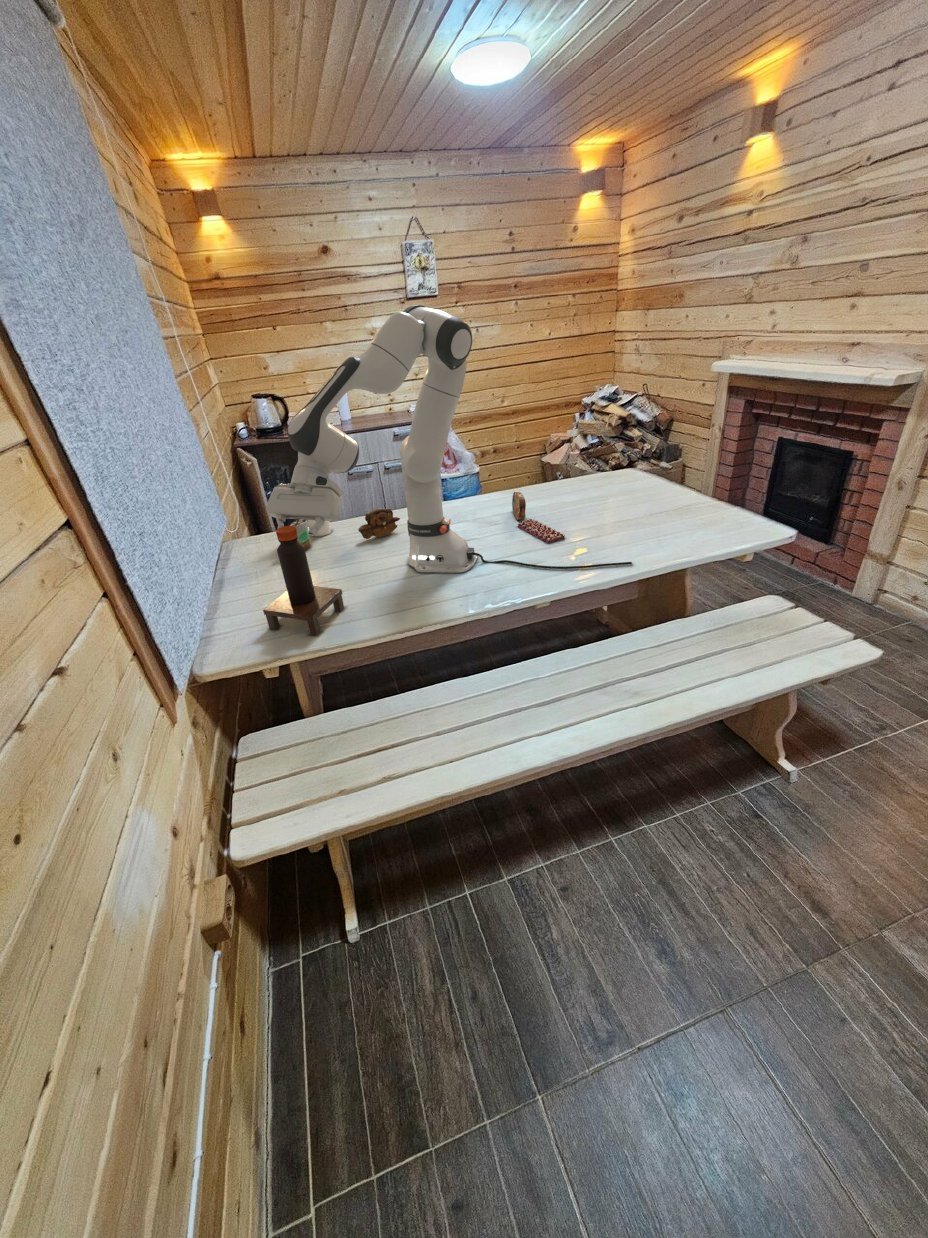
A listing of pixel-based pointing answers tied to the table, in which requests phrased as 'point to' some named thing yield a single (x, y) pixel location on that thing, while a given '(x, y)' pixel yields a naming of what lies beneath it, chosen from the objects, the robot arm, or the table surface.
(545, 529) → the chocolate bar
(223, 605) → the table surface
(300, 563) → the vinegar
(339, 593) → the stand
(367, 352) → the robot arm
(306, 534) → the food container
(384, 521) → the wooden carving
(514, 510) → the tin
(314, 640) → the table surface
